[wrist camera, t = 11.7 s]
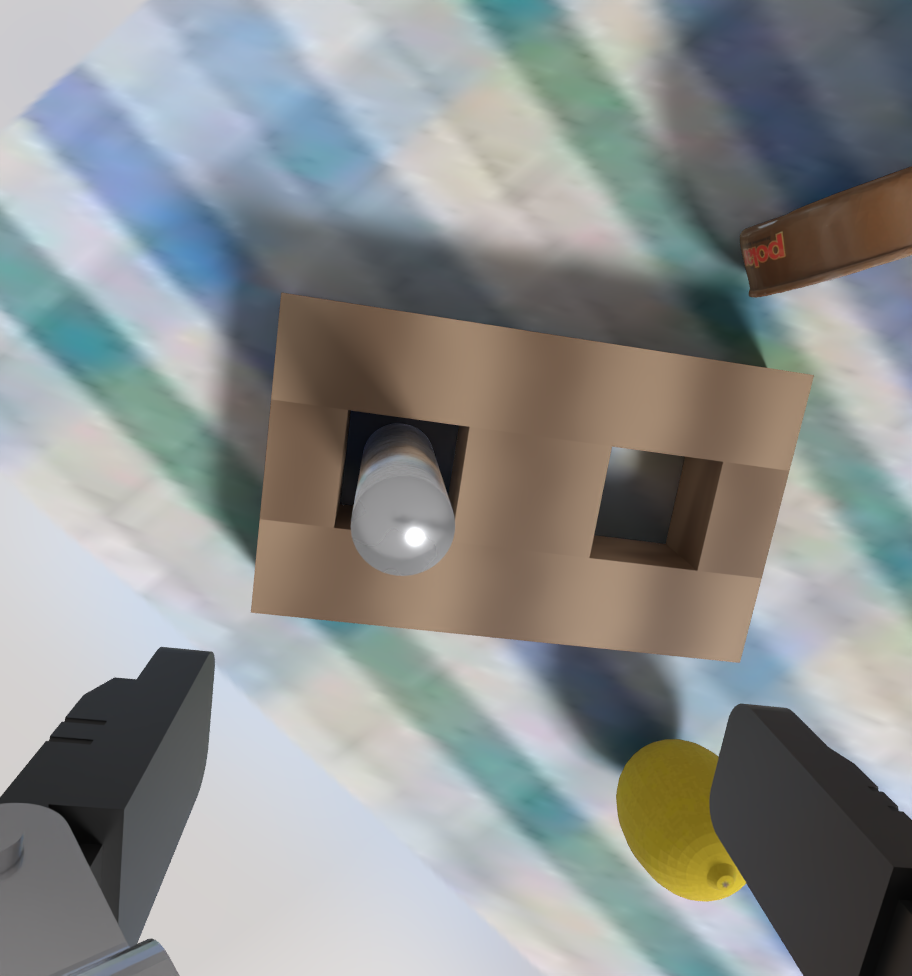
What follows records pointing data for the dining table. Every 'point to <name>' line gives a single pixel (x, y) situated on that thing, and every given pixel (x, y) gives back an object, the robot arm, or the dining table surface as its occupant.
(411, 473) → the peg
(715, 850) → the lemon
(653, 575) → the hole block
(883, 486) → the dining table surface
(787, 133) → the dining table surface
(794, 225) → the tin
